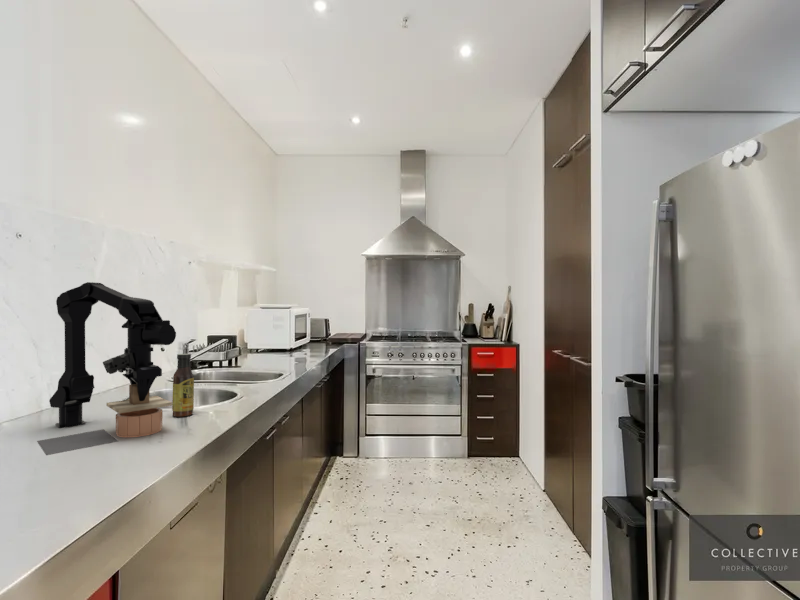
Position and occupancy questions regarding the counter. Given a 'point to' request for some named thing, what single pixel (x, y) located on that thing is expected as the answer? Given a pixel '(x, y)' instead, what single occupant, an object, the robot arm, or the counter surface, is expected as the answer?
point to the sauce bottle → (183, 387)
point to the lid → (137, 402)
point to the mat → (76, 441)
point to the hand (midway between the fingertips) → (139, 399)
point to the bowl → (139, 423)
